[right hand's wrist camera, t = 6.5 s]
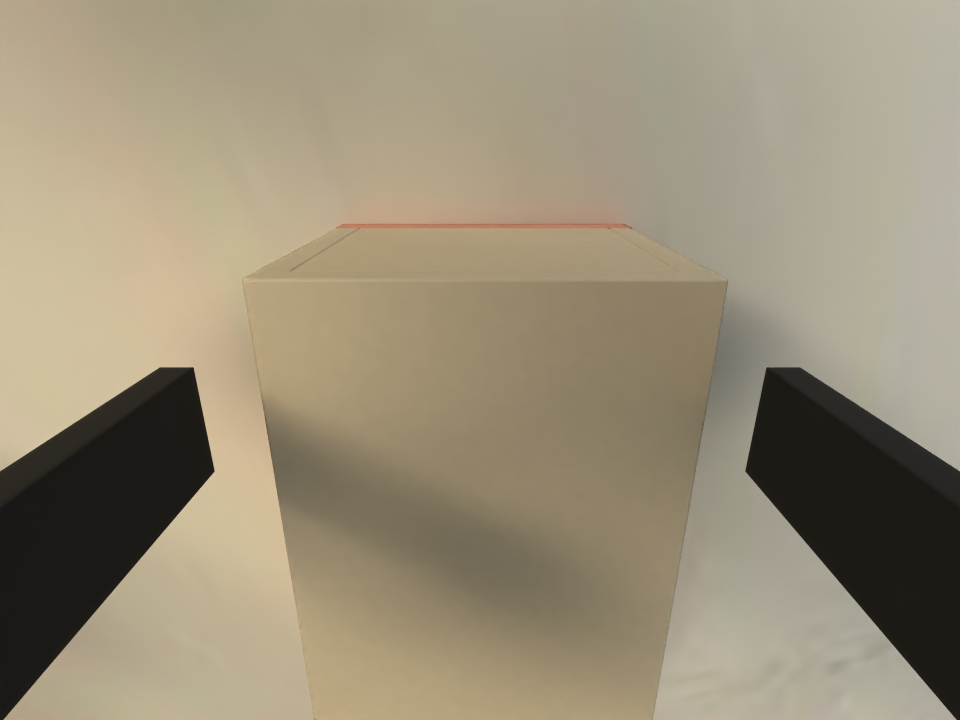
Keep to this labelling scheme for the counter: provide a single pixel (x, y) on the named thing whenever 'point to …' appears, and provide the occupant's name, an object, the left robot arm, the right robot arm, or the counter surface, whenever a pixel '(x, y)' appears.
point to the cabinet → (484, 462)
